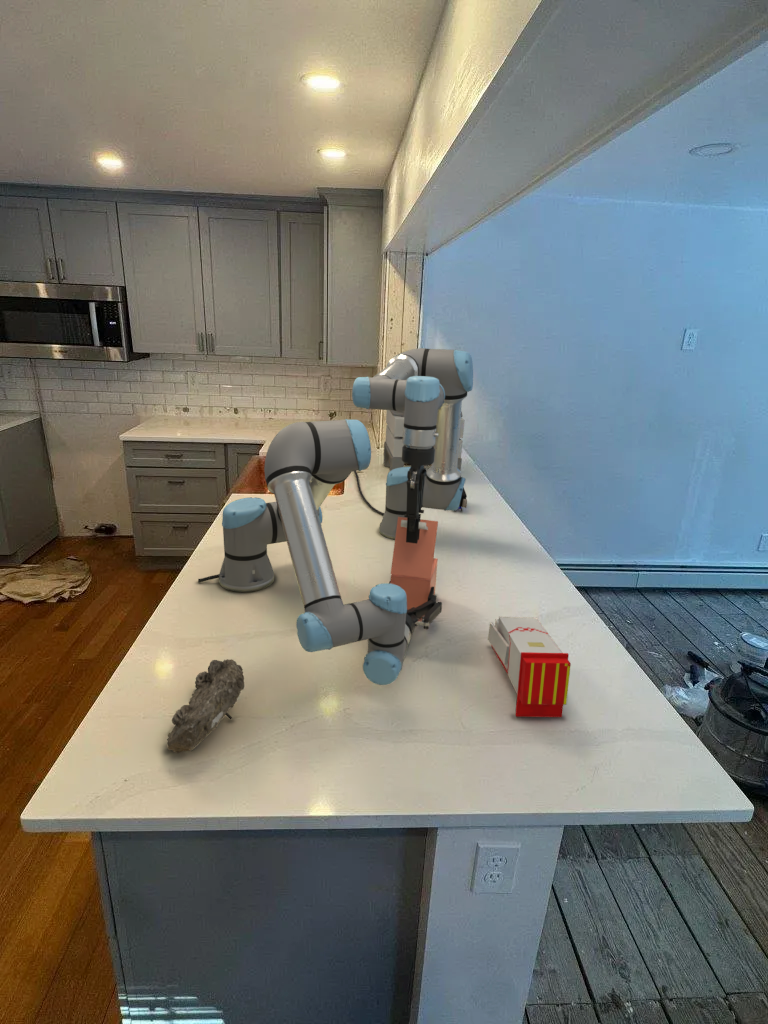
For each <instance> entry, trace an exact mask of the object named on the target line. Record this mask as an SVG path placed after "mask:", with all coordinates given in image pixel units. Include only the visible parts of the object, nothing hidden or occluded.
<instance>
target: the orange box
mask: <svg viewBox="0 0 768 1024" xmlns="http://www.w3.org/2000/svg"><path fill="white" fill-rule="evenodd" d="M438 526H439V521H438V520H430V519H421V518H420V522H419V528H418V529H420V532H419V540H418V542H417V544H416V543H408V542H406V533H407V518H404V517H398V521H397V529H396V537H395V539H394V545H393V552H392V560H391V566H390V567H391V568H390V575H391V574H395V575H402V576H409V577H417V578H424V579H431V575H432V567H433V559H434V558H435V549H436V541H437V534H438V528H439V527H438Z"/></svg>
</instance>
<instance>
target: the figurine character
mask: <svg viewBox="0 0 768 1024" xmlns="http://www.w3.org/2000/svg"><path fill="white" fill-rule="evenodd" d="M467 495H468V494H467V493H466V490H465V487H463V492H462V496H461V500H460V505H459V508H458V509H459V510H460V512H463V509H464V508H465V509H466V508H467V506H468V499H467V497H468V496H467ZM458 509H457V510H458Z"/></svg>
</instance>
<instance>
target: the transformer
mask: <svg viewBox="0 0 768 1024" xmlns="http://www.w3.org/2000/svg"><path fill="white" fill-rule="evenodd" d="M404 413H405V412H404V411H393V410H386V413H385V414H386V415H385V423H386V428H385V438H384V442H383V466H384V467H388V468H389V472H390V471H391V470H393V469H396V468H401V467H405V466H406V467H411V465H409V464H406V463H404V462H403V461H402V447H403V446H404V444H403V443H402V440H403V426H404ZM464 429H465V419H464V418H463V411H461V419H460V433H459V448H458V462H457V468H458V469H459V470H460V471H461V472H462V461H463V460H462V453H463V442H464V441H463V440H462V439H463V438H464V431H465V430H464ZM426 467H431V465H427V466H426Z"/></svg>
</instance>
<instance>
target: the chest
mask: <svg viewBox="0 0 768 1024" xmlns="http://www.w3.org/2000/svg"><path fill="white" fill-rule="evenodd" d="M438 561H439V559H438V558H436V557H434V559H433V567H432V575H431V579H424V578H417V577H409V576H402V575H395V574H391V573H390V580H389V582H390V584H394V585H397V586H400V587H401V588H402V589H403V590H404V591H405V592H406V596H407V610H409V609H411V608H412V607H415V608H416V607H418V606H420V605H422V604H424V603H425V602H427V601H428V596H429V593H430V590H431V587H434V595H436V585H437V574H438V572H437V571H438ZM424 616H425V615H424ZM421 618H422V617H420V618H419V619H421Z"/></svg>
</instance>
